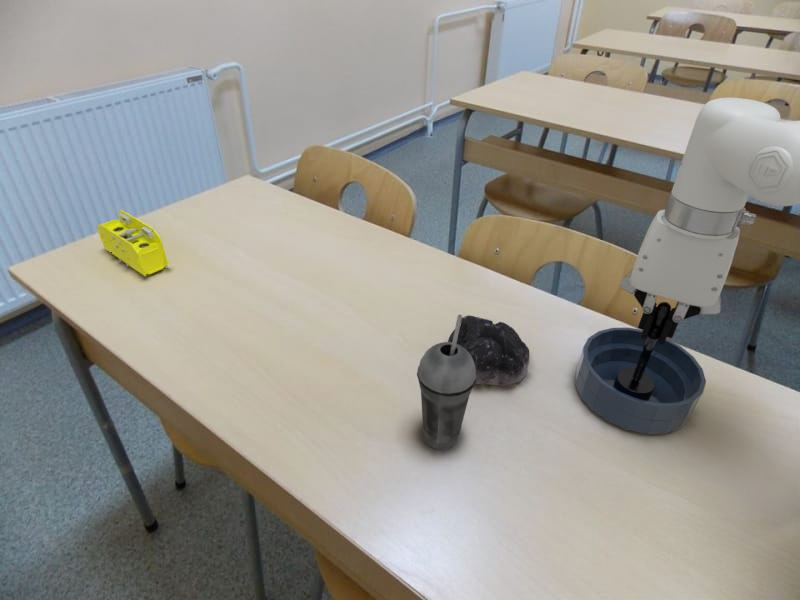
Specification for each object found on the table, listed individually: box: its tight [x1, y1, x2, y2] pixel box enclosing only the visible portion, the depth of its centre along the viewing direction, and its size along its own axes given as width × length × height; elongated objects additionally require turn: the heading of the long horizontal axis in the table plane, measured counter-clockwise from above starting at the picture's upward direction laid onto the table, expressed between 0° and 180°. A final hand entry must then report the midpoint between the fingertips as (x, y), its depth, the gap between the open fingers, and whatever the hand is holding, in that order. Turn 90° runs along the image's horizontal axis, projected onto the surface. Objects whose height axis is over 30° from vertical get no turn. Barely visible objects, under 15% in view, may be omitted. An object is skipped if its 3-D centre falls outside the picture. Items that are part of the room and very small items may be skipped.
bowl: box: [574, 327, 707, 435], centre depth 75 cm, size 16×16×6 cm
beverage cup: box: [416, 314, 476, 451], centre depth 64 cm, size 7×7×20 cm
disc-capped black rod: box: [614, 301, 672, 401], centre depth 72 cm, size 5×5×16 cm
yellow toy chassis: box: [96, 209, 170, 277], centre depth 102 cm, size 16×6×8 cm, turn 50°
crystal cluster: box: [447, 315, 530, 387], centre depth 79 cm, size 13×14×10 cm
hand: (653, 335), depth 70 cm, fingers closed on disc-capped black rod
